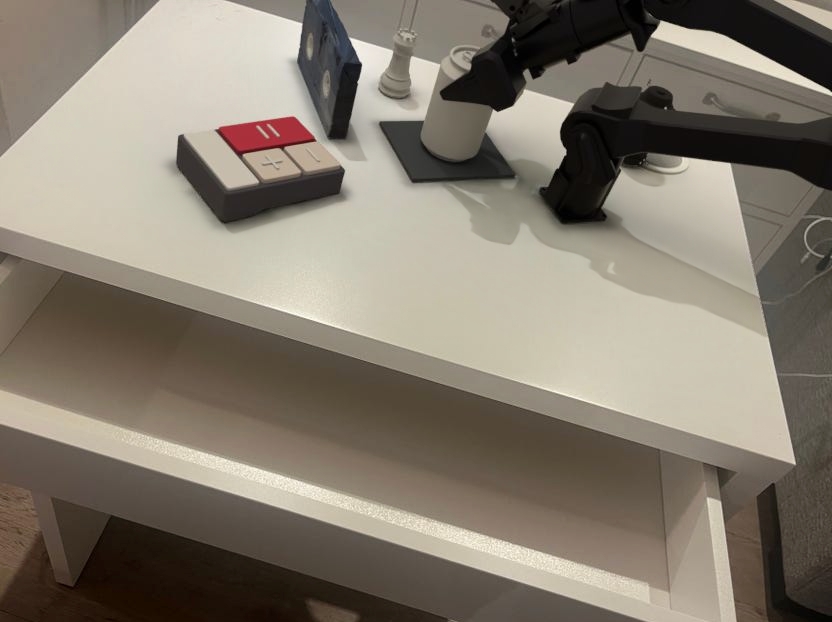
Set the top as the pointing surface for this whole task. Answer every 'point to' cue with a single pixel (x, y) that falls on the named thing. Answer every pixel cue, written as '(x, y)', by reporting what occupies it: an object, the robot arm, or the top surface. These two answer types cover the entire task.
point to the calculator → (257, 166)
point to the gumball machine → (656, 99)
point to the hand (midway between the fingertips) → (455, 80)
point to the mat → (435, 169)
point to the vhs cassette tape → (328, 66)
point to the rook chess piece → (399, 66)
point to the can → (454, 113)
